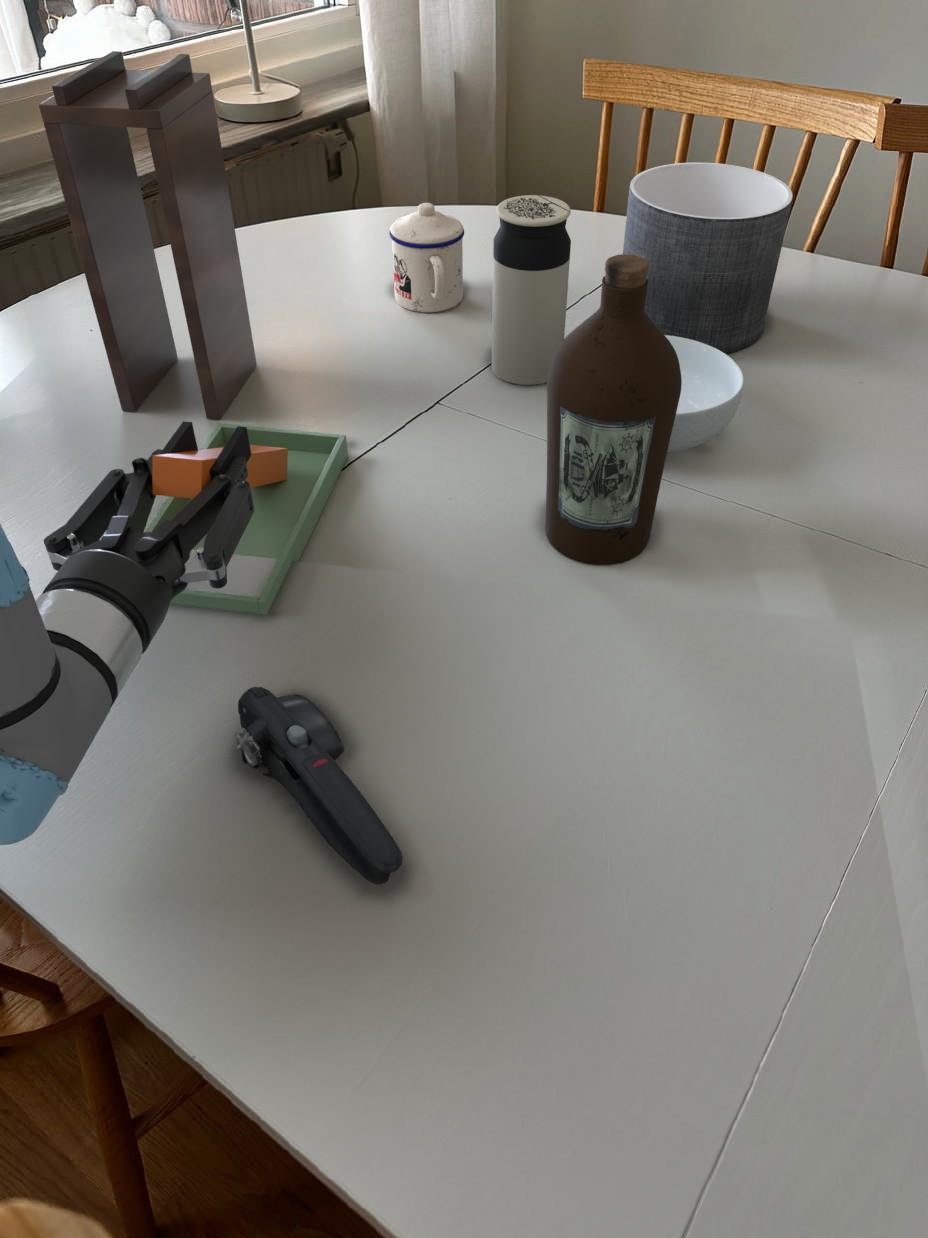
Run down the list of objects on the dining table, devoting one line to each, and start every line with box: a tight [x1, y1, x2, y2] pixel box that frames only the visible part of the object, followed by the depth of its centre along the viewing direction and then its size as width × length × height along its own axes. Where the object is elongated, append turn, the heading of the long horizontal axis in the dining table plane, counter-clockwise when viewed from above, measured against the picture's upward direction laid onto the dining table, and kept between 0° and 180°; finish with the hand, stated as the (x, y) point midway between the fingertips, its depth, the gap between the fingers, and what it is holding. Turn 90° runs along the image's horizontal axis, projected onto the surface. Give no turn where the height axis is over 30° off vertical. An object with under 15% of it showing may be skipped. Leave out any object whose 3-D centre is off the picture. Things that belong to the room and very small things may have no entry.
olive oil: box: [544, 253, 682, 566], centre depth 80 cm, size 11×11×25 cm
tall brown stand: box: [38, 50, 258, 421], centre depth 97 cm, size 11×12×32 cm
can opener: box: [234, 686, 403, 885], centre depth 64 cm, size 18×7×6 cm, turn 35°
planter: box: [622, 162, 794, 354], centre depth 114 cm, size 18×18×16 cm
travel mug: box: [491, 194, 572, 386], centre depth 104 cm, size 8×8×18 cm
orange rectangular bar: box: [152, 445, 288, 499], centre depth 84 cm, size 4×20×3 cm, turn 170°
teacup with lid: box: [389, 202, 465, 313], centre depth 119 cm, size 12×9×12 cm
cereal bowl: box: [665, 335, 745, 453], centre depth 98 cm, size 17×17×7 cm
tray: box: [144, 422, 349, 616], centre depth 89 cm, size 13×25×2 cm, turn 170°
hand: (217, 438), depth 81 cm, fingers closed on orange rectangular bar, 4 cm apart
